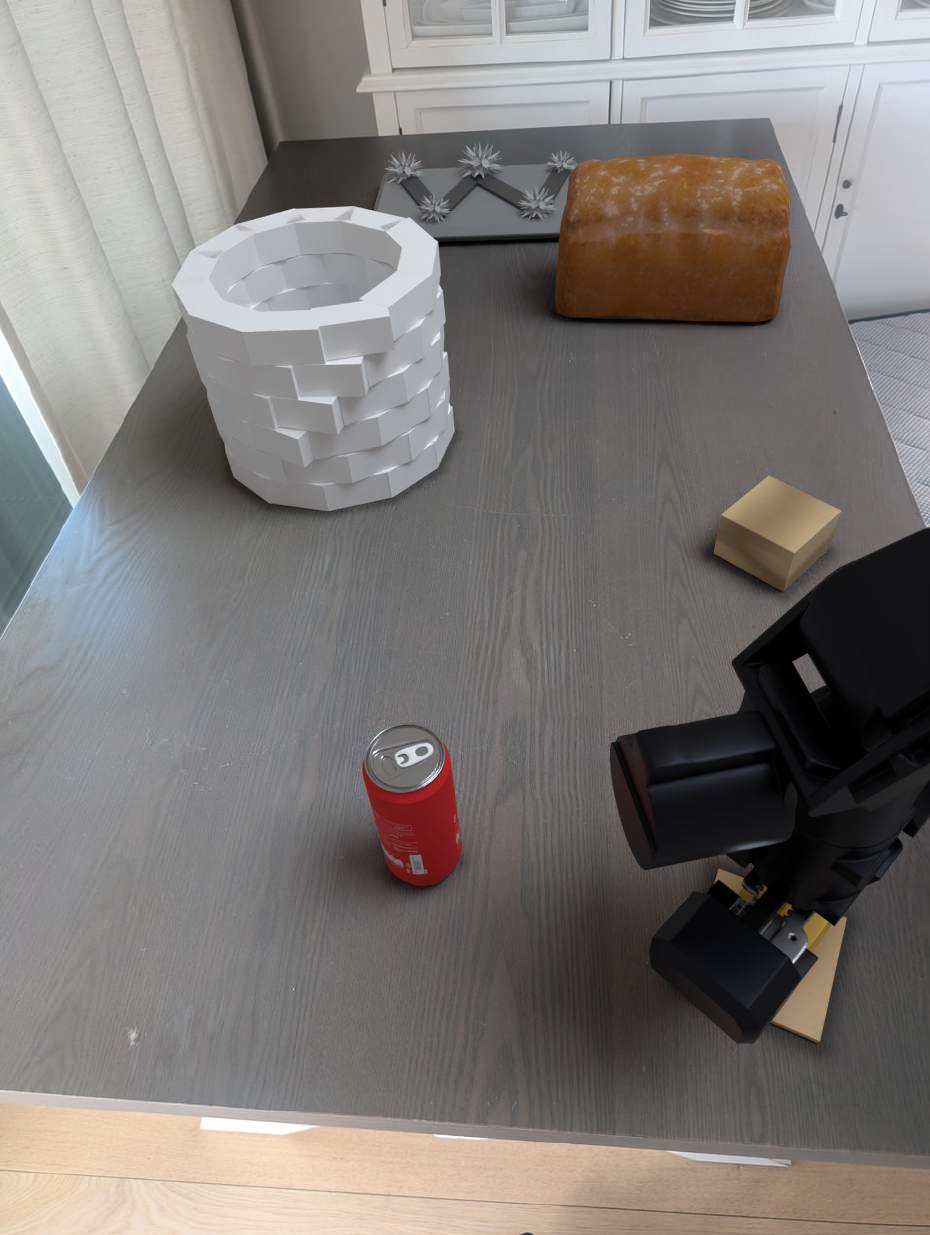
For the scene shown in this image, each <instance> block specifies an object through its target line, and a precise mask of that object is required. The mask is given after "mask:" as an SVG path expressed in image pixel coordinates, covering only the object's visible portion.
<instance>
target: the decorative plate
mask: <svg viewBox="0 0 930 1235" xmlns="http://www.w3.org/2000/svg"><path fill="white" fill-rule="evenodd" d="M473 141H474V143H473V144H474V146H473V148H472V149H473V150H471V149H470V148H469V147H468V146H467V145H465V147H466V149H464V150H465V151H464V150H461V152H462V153H463V155H465V156H466V158H462V157H461V158H460V159H461V160H460V159H459V160H458V159H457V161H458V162H459V163H457V165H458V166H459V167H438V168H423V167H424V165H422V163H421V160H419V161H417V162H415V161H416V159H415V156H416V154H414V155H413V156H412V152H410V153H409V155H408V157H407V158H406V156H405V153H404V151H401V153H400V151H399V149H398V160H397V159H396V158H395V157H394V156H393V155H392V154H390V156H391V160H389V159H387V161H388V162H389V164H390V165H391V166H387V167H384V170H387V171H384V172H385V174H384V175H383V177H381V182H380V185H379V189H378V193H377V196H376V200H375V203H374V207H373V210H372V211H376V212H381V213H385V214H390V215H394V216H399V217H403V218H409V217H410V218H411V219H412V220H413V221H414V222H415V223H417V224H418V225H419V226H420V227H421V228H422V229H423V230H425V231H426V232H427V233H428V234H429V235H430V236H431V237H433V238H434V239H435V240H436V241H438V243H450V242H478V241H479V242H480V241H506V240H507V241H508V240H509V241H510V240H512V241H513V240H535V239H540V240H541V239H559V237H560V224H561V220H562V215H563V212H564V209H565V205H566V202H567V191H568V183H569V175H570V172H572V171H573V170H574V169H575V168H576V167H577V166H578V165H579V164H580V163H578V162H577V161H575V160H574V159H575V156H573V157H572V158H570V154H571V151H568V150H566V151H565V153H564V155H563V151H562V149H560V150H559V151H557V153H555V155H554V153H551V155H549V159H550V160H551V161H548V162H546V163H537V164H535V163H534V164H511V165H510V164H509V165H501V164H497V163H498V161H500V160H502V159H503V157H499V156H500V155H499V153H501V150H499V151H497V152H495V153H493V154H492V152H493V147H494V145H495V144H494V142H493V144H492V145H491V147H490V148H489V144H490V141H489V142H487V145H486V146H485V148H484V150H483V151H482V146H481V142H480V140H478V145H477V143H476V140H473ZM477 146H478V147H477ZM568 152H569V153H568ZM401 155H402V156H401ZM498 157H499V158H498Z"/></svg>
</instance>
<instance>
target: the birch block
mask: <svg viewBox="0 0 930 1235" xmlns="http://www.w3.org/2000/svg"><path fill="white" fill-rule="evenodd" d="M841 513H842V510H841V509H839V508H837V507H835V506H832V505H831V504H829V503H826V502H825V501H822V500H820V499H818V498H816V497H814V496H812V495H810V494H808V493H806V492H804V491H802V490H800V489H798V488H796V487H793V486H791V485H789V484H787V483H785V482H784V481H782V480H779V479H777V478H775V477H773V476H771V475H767V476H766V477H765V478H764V479H762V480H761V481H760V482H759V483H758V484H756V485H755V486H754V487H753V488H751V489H750V490H749V491H748V492H746V494H744V495H743V496H742V497H741V498H739V499H738V500H737V501H735V503H733V504H732V505H731V506H729V507H728V508H727V509H726V510H725V511H723V512H722V513H721V514H720V518H719V523H718V528H717V534H716V538H715V544H714V549H713V554H714V555H716V556H717V557H719V558H721V559H723V560H725V561H726V562H728V563H730V564H732V565H734V566H736V567H737V568H739V569H741V570H742V571H744V572H746V573H748V574H750V575H752V576H754V577H755V578H757V579H758V580H761V581H762V582H764V583H766V584H768V585H770V586H771V587H773V588H775V589H776V590H778V591H781V592H782V593H784V592H785V591H786V590H787V589H788V588H789V587H791V586H792V585H793V584H794V583H795V582H796V581H797V580H798V579H799V578H801V576H803V575H804V573H806V572H807V571H808V570H809V569H810V568H811V567H812V566H813V565H815V563H816V562H818V561H819V559H821V558H822V557H823V556H824V555H826V553H827V552H828V551H829V550H830V547H831V543H832V541H833V537H834V535H835V532H836V528H837V525H838V523H839V519H840V516H841Z"/></svg>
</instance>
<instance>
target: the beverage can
mask: <svg viewBox="0 0 930 1235" xmlns="http://www.w3.org/2000/svg"><path fill="white" fill-rule="evenodd" d="M366 747H367V748H366V750H365V752H364V758H363V760H362V765H361V766H362V768H361V771H362V772H361V773H362V777H363V782H364V786H365V789H366V793H367V796H368V801H369V804H370V808H371V812H372V816H373V819H374V822H375V827H376V830H377V833H378V837H379V842H380V845H381V848H382V852H383V856H384V859H385V862H386V865H387V867H388V869H389V870H390V871H391V873H393V875H395V877H397V878H398V879H400V880H402V881H404V882H406V883H407V884H410V885H412V886H415V887H430V886H433V885H436V884H438V883H441V882H442V881H444V880H445V879H446V878H448V877H449V876H450V874H452V872H453V870H454V869H455V868H456V867H457V865H458V863H459V861H460V859H461V856H462V851H463V840H462V835H461V827H460V819H459V812H458V804H457V796H456V788H455V780H454V774H453V766H452V758H451V755H450V751H449V749H448V747H447V745H446V744H445V743H444V741H443V740H442V739H441V737H440V736H439V734H437V733H436V732H435V731H434V730H432V729H431V728H429V727H427V726H425V725H422V724H418V723H414V722H413V723H412V722H409V723H408V722H407V723H400V724H394V725H391V726H388V727H387V728H385V729H383V730H382V731H380V732H379V733H378V734H376V735H375V736H374V737H373V738H372V740H370V742H369V743H368V746H366Z"/></svg>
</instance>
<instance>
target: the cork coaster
mask: <svg viewBox="0 0 930 1235" xmlns="http://www.w3.org/2000/svg"><path fill="white" fill-rule="evenodd" d="M744 878H745V877H742V876H740V875H738V874H736V873H732V872H729V871H727V870H724V869H722V868H718V869H717V873H716V876H715V879H714V881H713V885H714V884H715V882H716V881H717V880H720V881H721V882H723V883H724V884H725V885H727V886H728V887H729V888H730V889H732V890H733V891H734V892H736V893H738V892H739V891H740V890H741V889H742V881H743V879H744ZM847 920H848V918H847V917H846V916H844V915H843V916H842V918H841V919H840V920H839V922H838V923H837V924H836V925H835V927H834V926H833V925H831V927H830V928H829V930H828V932H827V934H826V935H825V937H824V939H823V940H822V941H821V942H820V944H819V945H818V946H817V947H816V949H815V950H814V951H813V953H814V954H815V955H816V956H817V957H818V960H817V961H816V962H815V964H814V965H813V966H812V967H811V969H810V970H809V971H808V973H807V974H806V975H805V976H804V978H803V979H802V980H801V982H800V983H799V984H798V986H797V987H796V989H795V990H794V992H793V993H792V995H791V996H790V997H789V999H788V1000H787V1002H786V1003H785V1004H784V1006H783V1007H782V1008H781V1010H780V1011H779V1012H778V1013H777V1015H776V1016H775V1017H774V1019H773V1020H772V1021H771V1022H770V1024H773V1025H775V1026H778V1027H780V1028H782V1029H784V1030H786V1031H789V1032H790V1033H793V1034H796V1035H798V1036H800V1037H803V1038H805V1039H807V1040H810V1041H811V1042H814V1043H816V1044H820V1042H821V1040H822V1035H823V1030H824V1025H825V1021H826V1016H827V1012H828V1008H829V1002H830V999H831V993H832V989H833V984H834V980H835V975H836V972H837V966H838V961H839V957H840V953H841V948H842V944H843V940H844V939H843V938H844V934H845V929H846V924H847Z"/></svg>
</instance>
